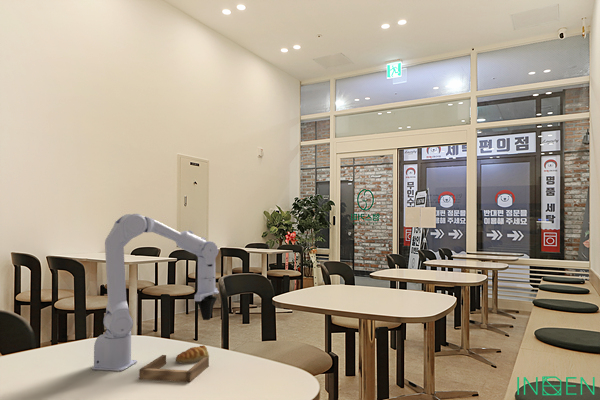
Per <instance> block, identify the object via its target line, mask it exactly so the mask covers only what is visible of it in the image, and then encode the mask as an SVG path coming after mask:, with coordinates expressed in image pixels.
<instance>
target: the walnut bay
mask: <svg viewBox="0 0 600 400" xmlns="http://www.w3.org/2000/svg"><path fill="white" fill-rule="evenodd" d="M166 364H167V354H161V355H160V356H159V357H157V358H156V359H154V360H152V361H151V362H149V363H146V365H144V366H142V367H141V368H139V370H138V371H139V373H138V376H139V377H138V380H144V381H145V380H148V381H163V382H164V381H166V382H179V383H181V382H182V383H191V382H192V381H194V380H195V379H196V378H197V377H198V376H199V375H200V374H202V373H203V372H204V371H205V370H206V369H208V367H209V365H210V356H209V357H204V358H203V359H202V360H201V361H199V362H196V363H195V364H194V365H193V366H192V367H191V368H189V369H188V370H187V369H186V370H184V369H183V370H182V369H169V368H168V369H166V368H165V369H164V368H162V367H164V366H165V365H166Z"/></svg>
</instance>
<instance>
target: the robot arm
mask: <svg viewBox="0 0 600 400" xmlns="http://www.w3.org/2000/svg"><path fill="white" fill-rule="evenodd" d="M143 233H153V234H156V235H159V236H161V237H164V238H166V239H168V240H171V241H173V242H174V243H175V244H176V247H178V248H179V249H181V250H184V251H187V252H189V253H191V254H193V255H195V256H196V257H197V292H196V293H195V294H194V300H193V301H194V302H196V303H197V305H198V307H199V310H200V313H201V317H202V320H203V321H209V320H211V317H212V313H213V310H214V309H213V308H214V307H215V303H216V301H217V299H218V297H217V296H216V295H218V294H219V293H220V291H219V290H218V287H216V269H217V268H216V266H217V265H216V258H217V257H218V255H219V252H220V251H219V249H218V245H217V244H216V243H215V242H213V241H207V240H206V239H207V238H206V237H204V236H202V237H200V236H198V235H196V234H195V233H194V231H192V230H182V231H178V230H177V229H174V228H172V227H170V226H168V225H166V224H165V223H162V222H161V221H158V220H156V219H154V218H152V217H149V216H144V215H142V214H140V213H132V214H130V213H129V214H124V215H122V216H120V217H119V218H118V219H117V220H115V221H114V224H113V226H112V228H111V230H110V231H109V232H108V235H107V237H106V238H105V239H104V252H105V271H106V274H105V275H106V287H107V289H106V290H107V291H106V292H107V303H106V307H105V309H106V310H105V315H104V317H103V325H104V327H105V328H106V331H104V333H103V334H100V335H99V336H97V338H96V340H94V341H95V342H94V345H93V366H92V368H91V370H95V371H96V370H100V371H115V372H122V371H124V370H126V369H128V368H129V367H131V366H133V365H135V364H136V363H138V360H137V359H136V360H135V359H132V330H133V326H134V320H133V318H132V317H131V314H130V308H129V305H128V302H127V288H126V287H127V286H126V285H127V284H126V268H125V267H126V265H125V248H124V247H126V245H127V244H128V243H130V241H132V239H134V238H136V237H138V236H140V235H142V234H143ZM213 295H215V296H213Z"/></svg>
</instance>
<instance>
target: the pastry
mask: <svg viewBox="0 0 600 400" xmlns="http://www.w3.org/2000/svg"><path fill="white" fill-rule="evenodd" d="M204 357H209V358H210V354H209V351H208V349H207V347H206V345H199V346H192V347H190V348H188V349H186V350H185V351H181V352H180V353H179V354H177V355H176V357H175V362H177V363H179V364H181V365H182V364H183V365H186V364H196V363H198V362H199V361H201V360H202V359H203V358H204Z"/></svg>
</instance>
